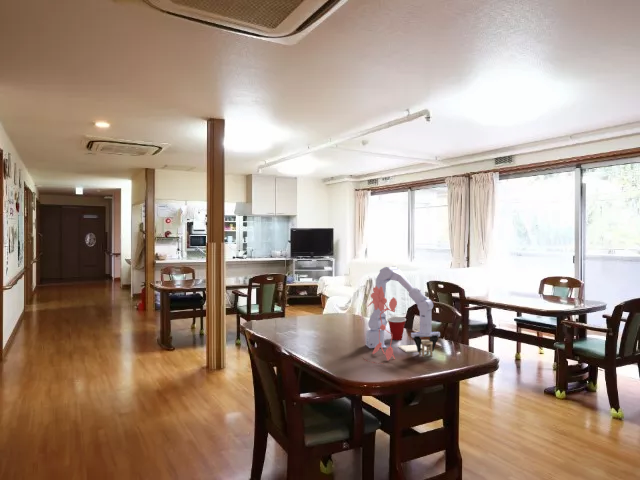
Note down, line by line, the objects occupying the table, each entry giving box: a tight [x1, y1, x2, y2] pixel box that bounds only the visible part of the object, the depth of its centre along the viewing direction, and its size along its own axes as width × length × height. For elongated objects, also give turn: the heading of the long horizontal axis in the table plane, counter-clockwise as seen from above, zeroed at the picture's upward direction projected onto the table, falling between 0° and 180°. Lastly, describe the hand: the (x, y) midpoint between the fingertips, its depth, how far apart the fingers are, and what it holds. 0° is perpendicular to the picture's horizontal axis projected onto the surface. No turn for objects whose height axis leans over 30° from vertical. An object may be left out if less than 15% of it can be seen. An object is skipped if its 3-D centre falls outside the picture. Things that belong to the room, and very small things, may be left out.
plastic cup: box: [386, 316, 407, 341], centre depth 251 cm, size 11×11×12 cm
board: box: [398, 344, 430, 353], centre depth 229 cm, size 13×11×1 cm
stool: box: [418, 339, 433, 358], centre depth 217 cm, size 5×5×7 cm
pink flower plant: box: [362, 285, 398, 365], centre depth 211 cm, size 15×26×35 cm, turn 24°
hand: (425, 351), depth 217 cm, fingers open, 6 cm apart
